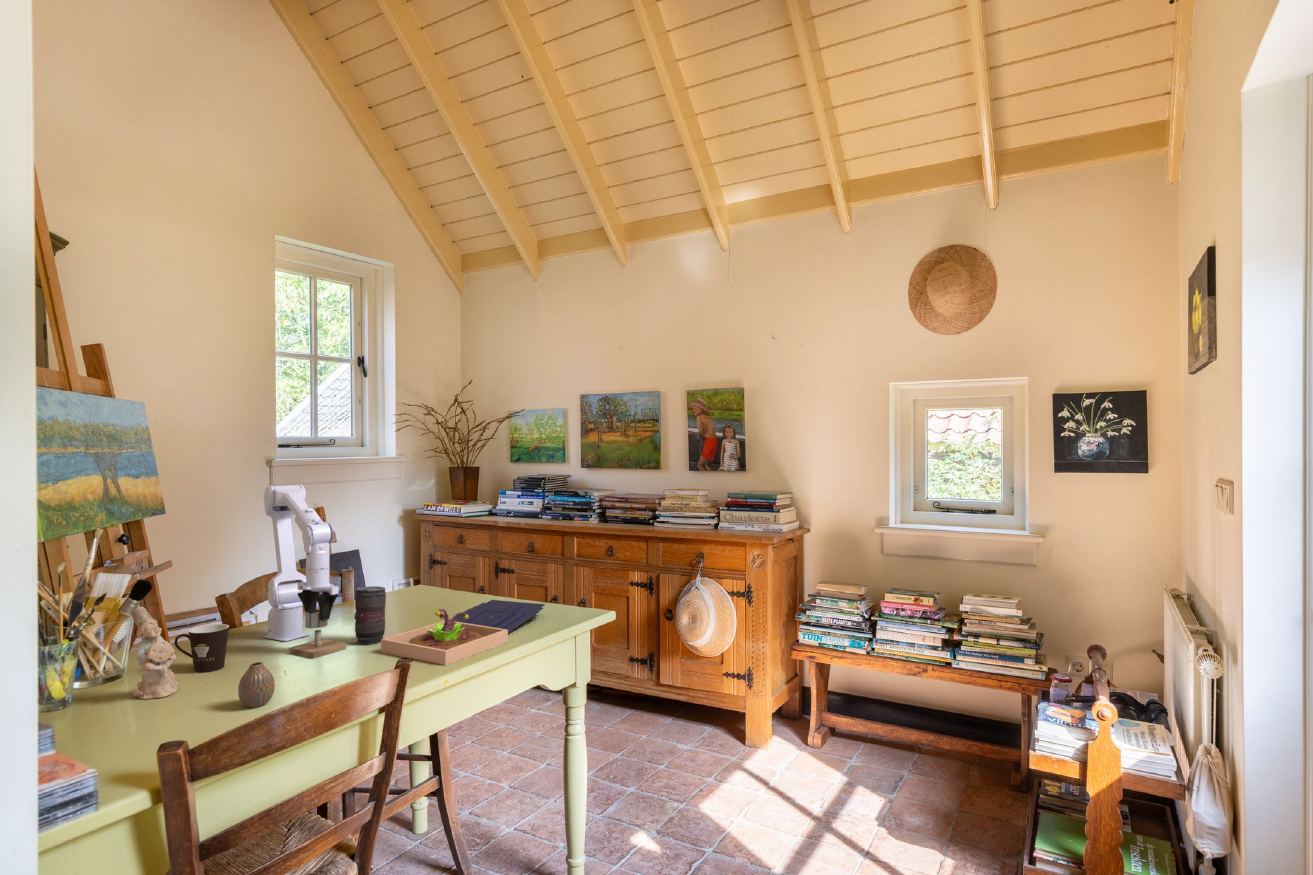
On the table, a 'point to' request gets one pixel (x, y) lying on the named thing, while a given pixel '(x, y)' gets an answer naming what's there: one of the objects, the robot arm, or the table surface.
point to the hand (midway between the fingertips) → (317, 618)
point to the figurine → (153, 658)
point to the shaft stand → (317, 647)
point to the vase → (256, 686)
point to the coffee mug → (207, 647)
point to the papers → (500, 614)
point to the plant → (446, 634)
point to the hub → (314, 619)
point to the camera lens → (370, 614)
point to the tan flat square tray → (403, 648)
